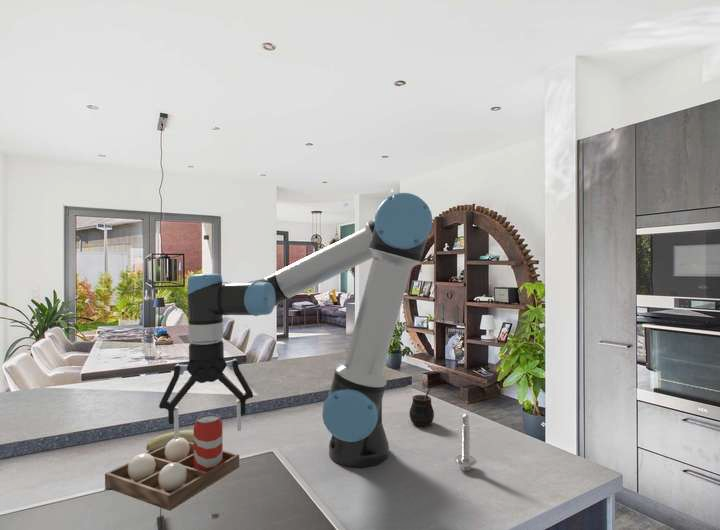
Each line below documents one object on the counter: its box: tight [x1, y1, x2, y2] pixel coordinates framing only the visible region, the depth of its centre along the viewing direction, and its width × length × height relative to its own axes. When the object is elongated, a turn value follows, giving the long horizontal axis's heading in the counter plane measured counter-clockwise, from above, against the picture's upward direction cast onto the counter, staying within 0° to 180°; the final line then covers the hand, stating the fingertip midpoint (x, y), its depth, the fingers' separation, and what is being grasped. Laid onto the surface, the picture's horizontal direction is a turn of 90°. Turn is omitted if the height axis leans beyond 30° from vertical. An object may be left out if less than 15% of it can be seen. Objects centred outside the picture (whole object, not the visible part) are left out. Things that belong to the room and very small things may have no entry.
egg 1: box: [128, 452, 156, 481], centre depth 97 cm, size 6×6×6 cm
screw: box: [454, 413, 477, 472], centre depth 103 cm, size 13×5×5 cm
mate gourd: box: [409, 387, 435, 428], centre depth 131 cm, size 7×8×10 cm
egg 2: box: [165, 437, 190, 462], centre depth 106 cm, size 6×6×6 cm
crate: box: [104, 442, 240, 512], centre depth 99 cm, size 20×20×3 cm
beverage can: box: [193, 413, 224, 472], centre depth 102 cm, size 6×6×12 cm
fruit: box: [145, 429, 194, 452], centre depth 116 cm, size 7×15×3 cm, turn 102°
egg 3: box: [158, 462, 187, 492], centre depth 93 cm, size 6×6×6 cm
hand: (208, 433), depth 101 cm, fingers open, 13 cm apart
